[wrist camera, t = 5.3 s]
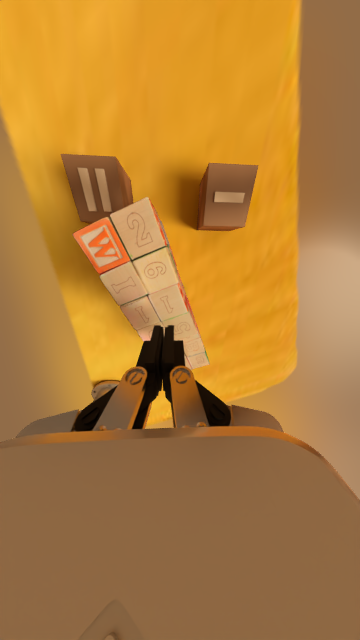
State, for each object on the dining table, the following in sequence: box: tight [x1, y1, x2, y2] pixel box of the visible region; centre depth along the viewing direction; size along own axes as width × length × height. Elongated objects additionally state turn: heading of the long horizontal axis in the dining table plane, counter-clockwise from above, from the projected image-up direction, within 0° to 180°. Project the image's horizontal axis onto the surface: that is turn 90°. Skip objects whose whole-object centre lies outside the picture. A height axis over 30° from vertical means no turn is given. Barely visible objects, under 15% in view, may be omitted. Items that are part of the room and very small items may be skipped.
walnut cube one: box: [197, 163, 258, 231], centre depth 16 cm, size 5×5×5 cm
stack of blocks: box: [73, 197, 210, 370], centre depth 19 cm, size 21×6×12 cm, turn 20°
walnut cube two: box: [61, 154, 133, 224], centre depth 15 cm, size 5×5×5 cm
